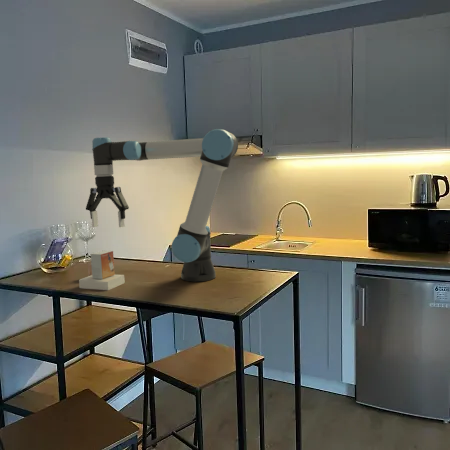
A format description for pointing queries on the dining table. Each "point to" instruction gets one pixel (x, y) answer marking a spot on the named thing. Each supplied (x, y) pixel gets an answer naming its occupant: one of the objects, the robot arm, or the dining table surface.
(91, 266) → the brown rounded block
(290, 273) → the dining table surface
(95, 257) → the small box
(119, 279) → the ceramic block
